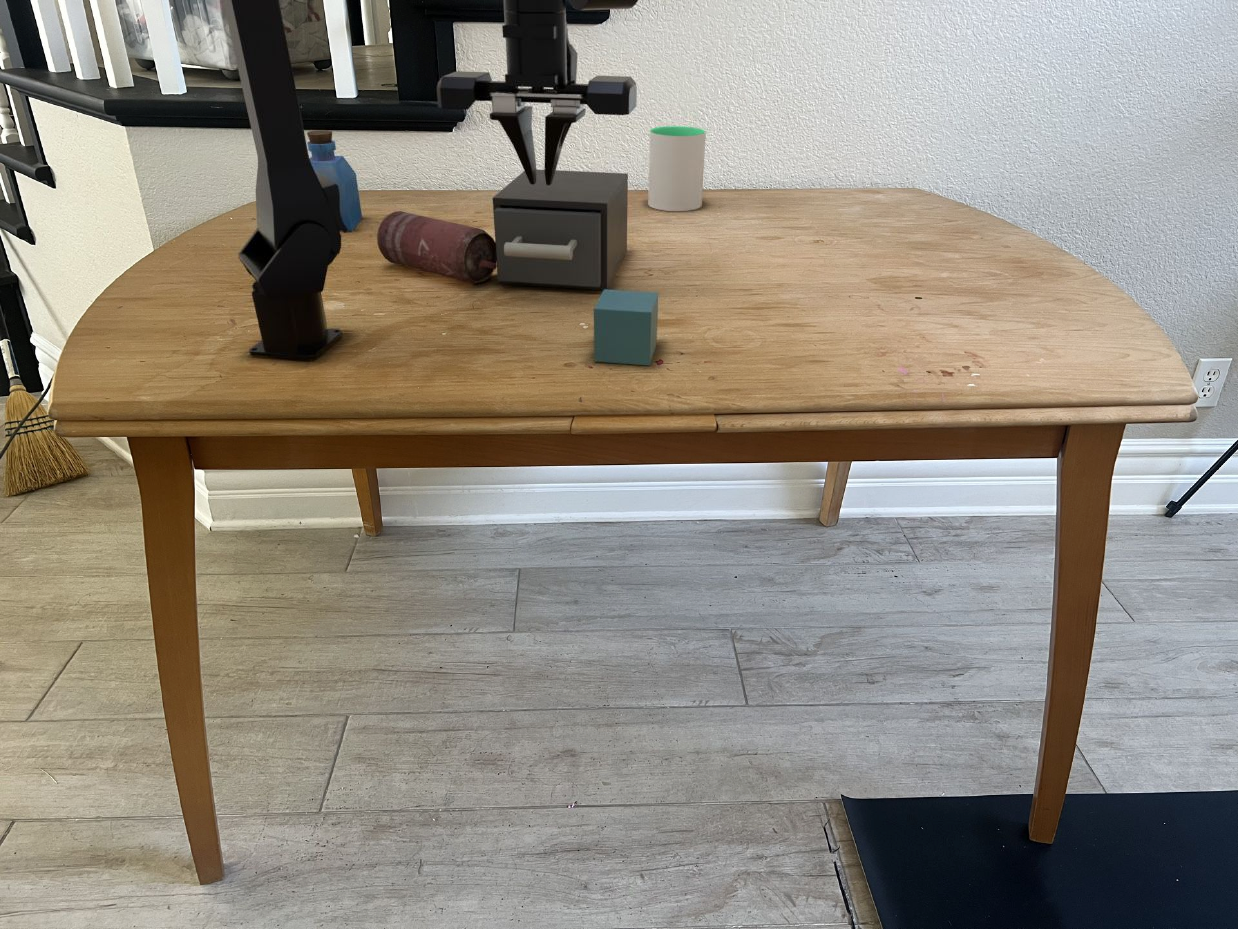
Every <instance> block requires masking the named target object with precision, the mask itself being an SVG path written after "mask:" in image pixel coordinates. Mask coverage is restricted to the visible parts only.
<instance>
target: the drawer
mask: <svg viewBox="0 0 1238 929" xmlns="http://www.w3.org/2000/svg"><path fill="white" fill-rule="evenodd" d="M494 218H495V229H494V235H495V234H496V249H497V262H496V264H498V274H497V280H498V279H499V281H507V282H523V283H539V284H555V285H571V286H587V287H599V286H600V284H601V213H600V210H581V209H562V208H542V207H522V206H507V208H496V209H495V210H494V213H493V219H494Z"/></svg>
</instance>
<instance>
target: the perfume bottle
mask: <svg viewBox="0 0 1238 929" xmlns="http://www.w3.org/2000/svg"><path fill="white" fill-rule="evenodd" d="M306 135H307V137H308V140H309V141H307V142H306V144H307V149H308V152H310V153H311V156H310V157H309V159H310V162H311V164H312V167H313V169H314V171H315V173H317V172H319V173H321V174H322V175H324V176H325V177H327V178H328V179H330V180H331V181H333V182H334V183H335V184H337V185H338V187H339V194H340V214H341V217H342V221H343V223H344V224H345V226H346V228H347V229H348V231H347V232H353V231H354V230H355V229H356V228H357V226H358V225H359V223H360V222H362V220H363V213H362V206H361V201H360V192H359V185H358V179H357V173H356V172H355V170H354V168H353V167H352V166H351V164H350V163H349V162H348V161H347V159H346V158H345V156H343V155H335V154H336V153H335V151H336V150H337V146H336V141H335V140H333V131H332V130H326V129H320V130H319V129H318V130H317V129H316V130H311V131H307V132H306Z"/></svg>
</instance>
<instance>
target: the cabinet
mask: <svg viewBox="0 0 1238 929" xmlns="http://www.w3.org/2000/svg"><path fill="white" fill-rule="evenodd" d="M628 180H629V173H627V172H626V173H625V172H604V171H603V172H602V171H581V170H561V169H560V170H559V169H558V170H557V169H556V171H555V174H554V178H553V181H552V184H551V185H546V180H545V170H544V169H537V168H536V183H535V184H534V185H532V184H530V182H529V180H528V178H527V175H526V173H525V171H524V170H523V171H522V172H521V173H520V174H519V175H518V176H517V177H515V178H513V180H511V182H509V183H508V184H507V185H506V186H505V187H503V188H502V189H501V190H500V191H499V192H498V193H496V194H495V195H494V196H493V197H492V212H493V214H494V210H495V209H496V208H507V206H522V207H542V208H562V209H581V210H600V213H601V284H600V286H599V287H587V286H571V285H555V284H539V283H523V282H507V281H499V279H498V278H497V283H498V285H515V286H530V287H544V288H545V287H549V288H561V289H562V288H563V289H577V290H579V289H580V290H594V291H603V290H604V289H608V290H609V288H610V285H611V284H612V282H613V280H614V278H615V276H616V274H617V272H618V270H619V268H620V266H621V264H622V262H623V260H624V258H625V256H626V254H627V252H628V206H629V205H628V204H629V203H628V201H629V200H628V197H629V196H628V195H629V194H628V193H629V190H628V189H629V181H628ZM493 226H494V229H493V230H495V218H494V217H493ZM494 241H495V244H496V234H495V233H494ZM496 259H497V249H496ZM496 264H497V263H496ZM496 272H497V275H498V264H497V267H496Z"/></svg>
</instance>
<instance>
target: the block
mask: <svg viewBox="0 0 1238 929" xmlns="http://www.w3.org/2000/svg"><path fill="white" fill-rule="evenodd" d="M658 317H659V292H655V291H637V290H623V289H622V290H621V289H609V288H608V289H604V290H602V292H601V294H600V296H599V299H598V300H597V302H596V304H595V305H594V307H593V361H594V362H596V363H609V364H620V365H621V364H622V365H633V366H634V365H635V366H636V365H637V366H646V367H647V366H648V367H649V366H651V363H652V360H653V357H654V354H655V350H656V349H657V348H656V347H657V345H658V319H659V318H658Z"/></svg>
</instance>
